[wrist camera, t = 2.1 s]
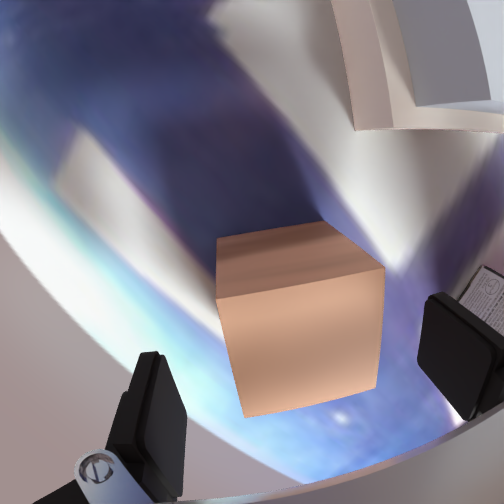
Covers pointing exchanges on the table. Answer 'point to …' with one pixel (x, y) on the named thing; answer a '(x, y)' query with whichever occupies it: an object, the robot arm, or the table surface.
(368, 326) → the terracotta block
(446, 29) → the tower top
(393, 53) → the tower base
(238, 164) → the table surface
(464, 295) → the candy bar box
